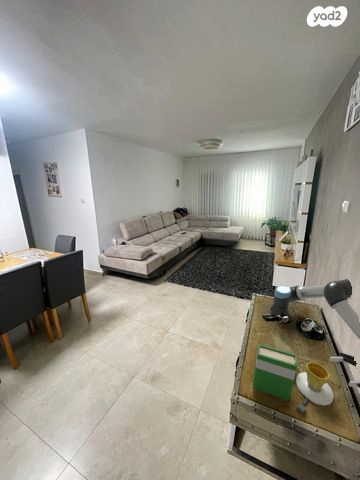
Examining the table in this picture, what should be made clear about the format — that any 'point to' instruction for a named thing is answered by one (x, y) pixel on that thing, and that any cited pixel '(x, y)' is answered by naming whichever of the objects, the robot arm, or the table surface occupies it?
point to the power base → (313, 393)
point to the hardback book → (274, 372)
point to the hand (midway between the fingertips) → (339, 370)
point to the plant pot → (316, 375)
